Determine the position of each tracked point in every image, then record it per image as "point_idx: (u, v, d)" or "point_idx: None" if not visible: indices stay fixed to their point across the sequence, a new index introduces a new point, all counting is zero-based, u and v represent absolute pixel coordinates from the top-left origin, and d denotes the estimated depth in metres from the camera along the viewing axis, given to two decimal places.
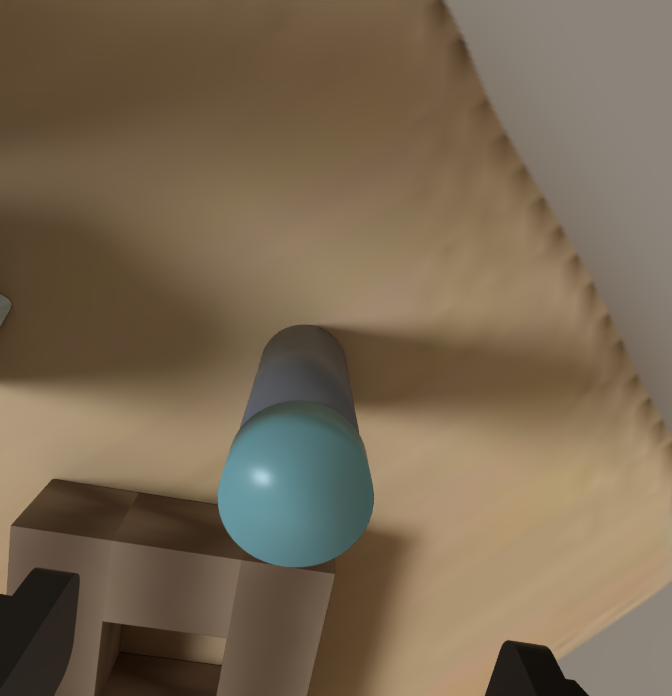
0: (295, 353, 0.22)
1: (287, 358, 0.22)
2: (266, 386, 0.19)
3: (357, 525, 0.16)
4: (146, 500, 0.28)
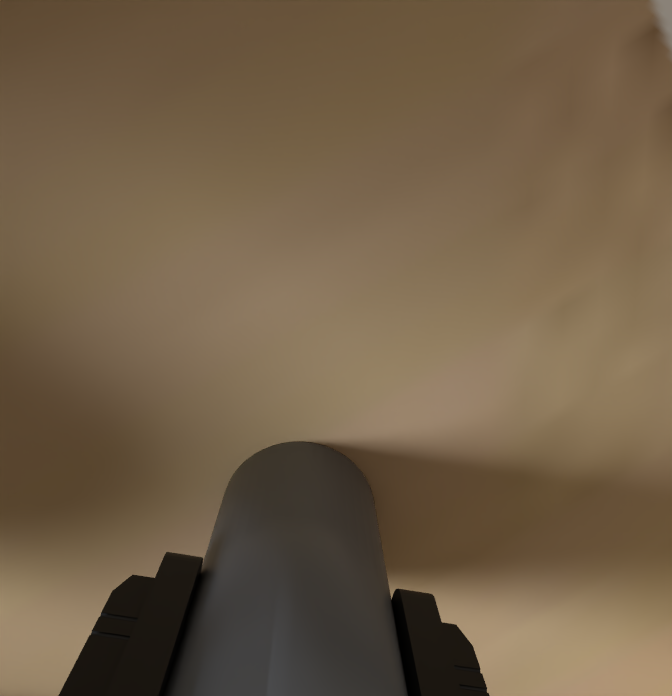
0: (277, 554, 0.10)
1: (257, 572, 0.10)
2: None
3: None
4: None
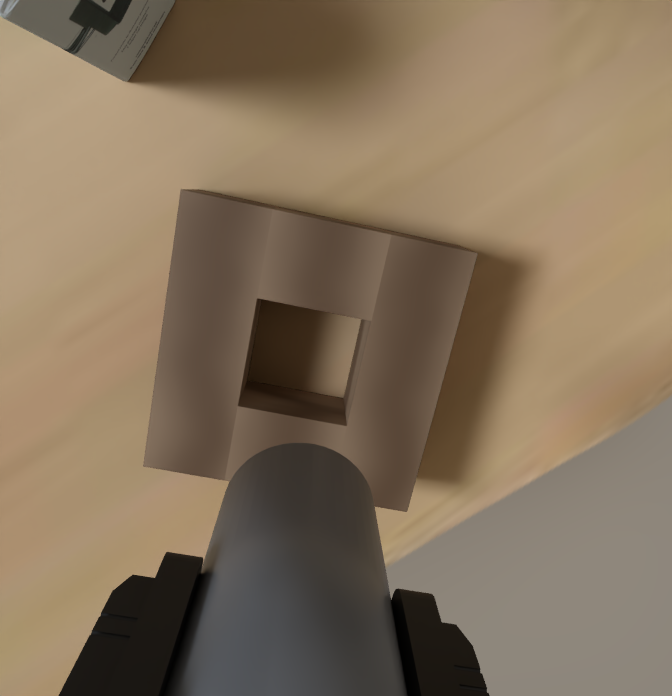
0: (277, 555, 0.10)
1: (257, 573, 0.10)
2: None
3: None
4: (287, 209, 0.30)
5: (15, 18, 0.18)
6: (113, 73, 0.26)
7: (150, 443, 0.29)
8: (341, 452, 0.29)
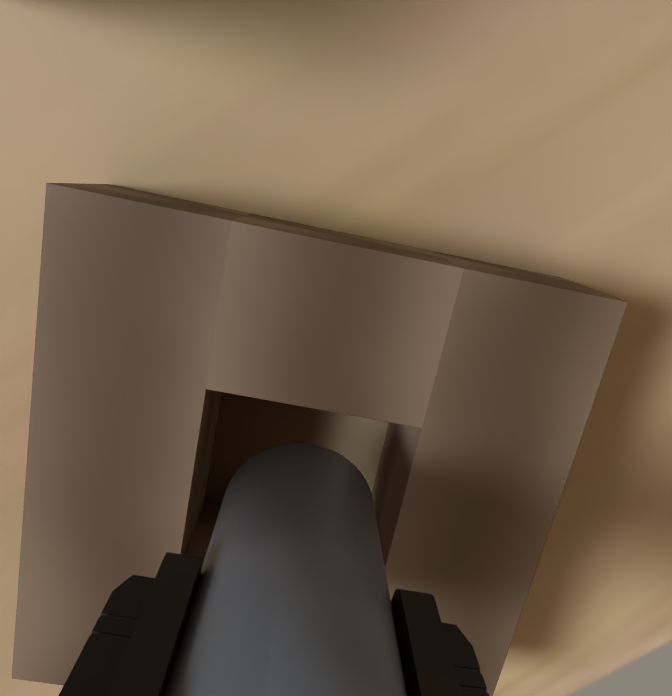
0: (277, 556, 0.10)
1: (257, 574, 0.10)
2: None
3: None
4: (266, 218, 0.17)
5: None
6: None
7: (21, 641, 0.16)
8: None
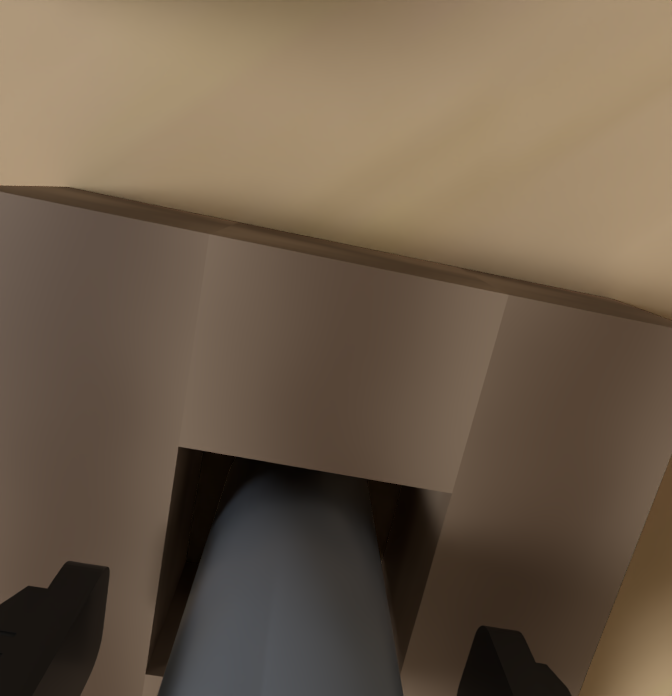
0: (277, 523, 0.11)
1: (258, 538, 0.11)
2: (202, 652, 0.08)
3: None
4: (257, 228, 0.14)
5: None
6: None
7: None
8: None
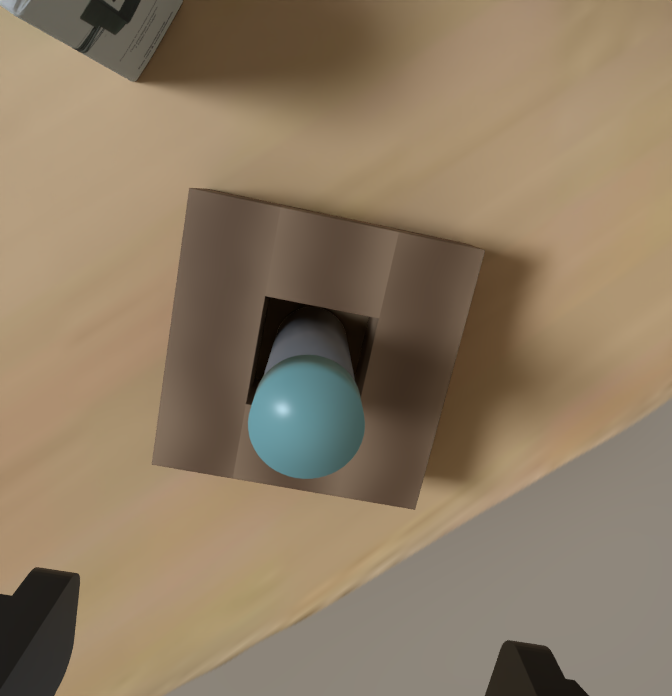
0: (305, 326, 0.27)
1: (298, 329, 0.27)
2: (283, 348, 0.24)
3: (352, 446, 0.21)
4: (294, 207, 0.30)
5: (27, 17, 0.18)
6: (121, 73, 0.26)
7: (159, 441, 0.29)
8: None
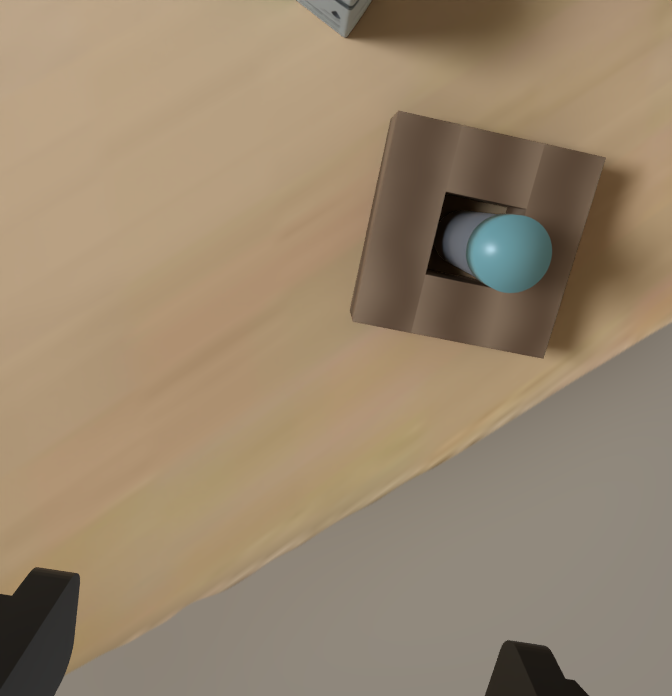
0: (476, 212, 0.38)
1: (473, 213, 0.37)
2: (473, 219, 0.35)
3: (542, 269, 0.31)
4: None
5: None
6: (347, 29, 0.37)
7: (359, 303, 0.40)
8: (498, 310, 0.40)
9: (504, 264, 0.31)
